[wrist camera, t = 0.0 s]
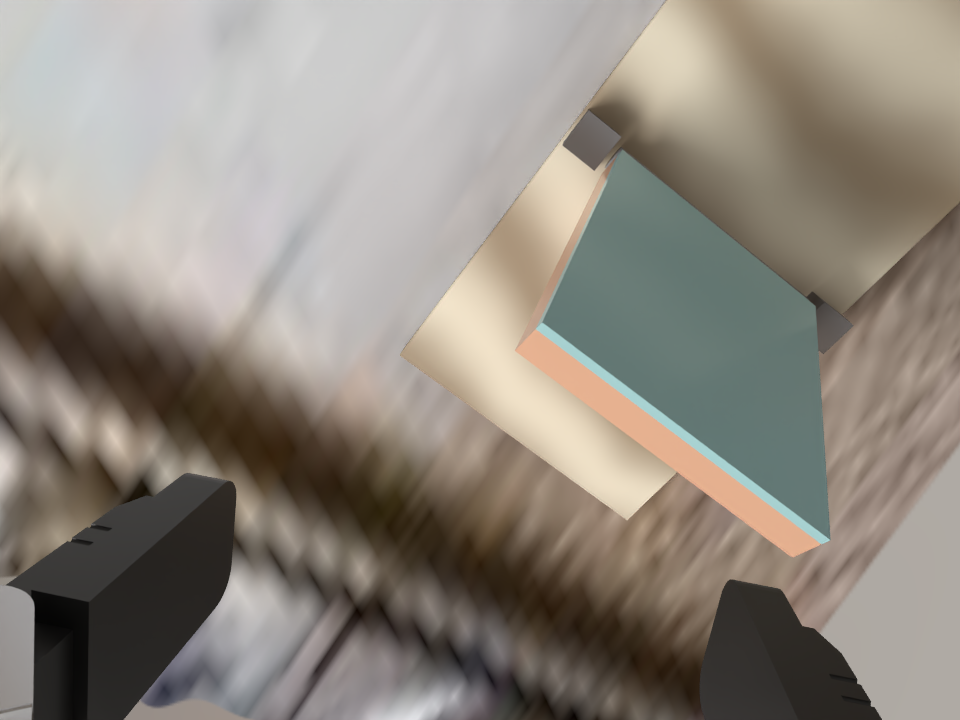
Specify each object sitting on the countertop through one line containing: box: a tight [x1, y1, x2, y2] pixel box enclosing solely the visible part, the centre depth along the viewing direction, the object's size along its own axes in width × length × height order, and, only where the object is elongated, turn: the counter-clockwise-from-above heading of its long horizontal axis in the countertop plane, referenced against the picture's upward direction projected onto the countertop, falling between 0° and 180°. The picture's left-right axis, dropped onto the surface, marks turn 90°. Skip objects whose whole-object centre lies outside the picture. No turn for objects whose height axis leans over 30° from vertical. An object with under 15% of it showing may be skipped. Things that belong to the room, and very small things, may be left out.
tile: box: [515, 147, 830, 557], centre depth 24 cm, size 13×10×1 cm
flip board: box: [400, 0, 960, 520], centre depth 29 cm, size 26×14×3 cm, turn 144°
